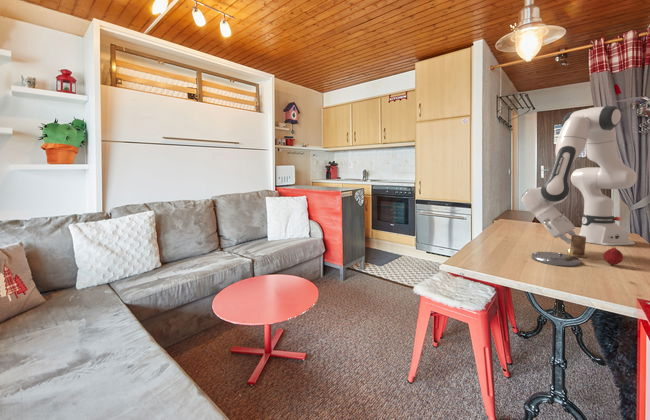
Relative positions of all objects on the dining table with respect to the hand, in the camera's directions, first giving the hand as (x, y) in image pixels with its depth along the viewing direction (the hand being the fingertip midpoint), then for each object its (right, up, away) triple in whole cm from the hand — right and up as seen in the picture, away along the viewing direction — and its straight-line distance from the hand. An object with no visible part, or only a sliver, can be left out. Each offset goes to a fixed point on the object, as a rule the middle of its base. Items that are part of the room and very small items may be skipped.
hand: (574, 241), depth 135 cm
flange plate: (-13, -8, -5) cm, 16 cm away
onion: (+4, -9, -14) cm, 17 cm away
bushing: (+1, -7, 0) cm, 7 cm away
